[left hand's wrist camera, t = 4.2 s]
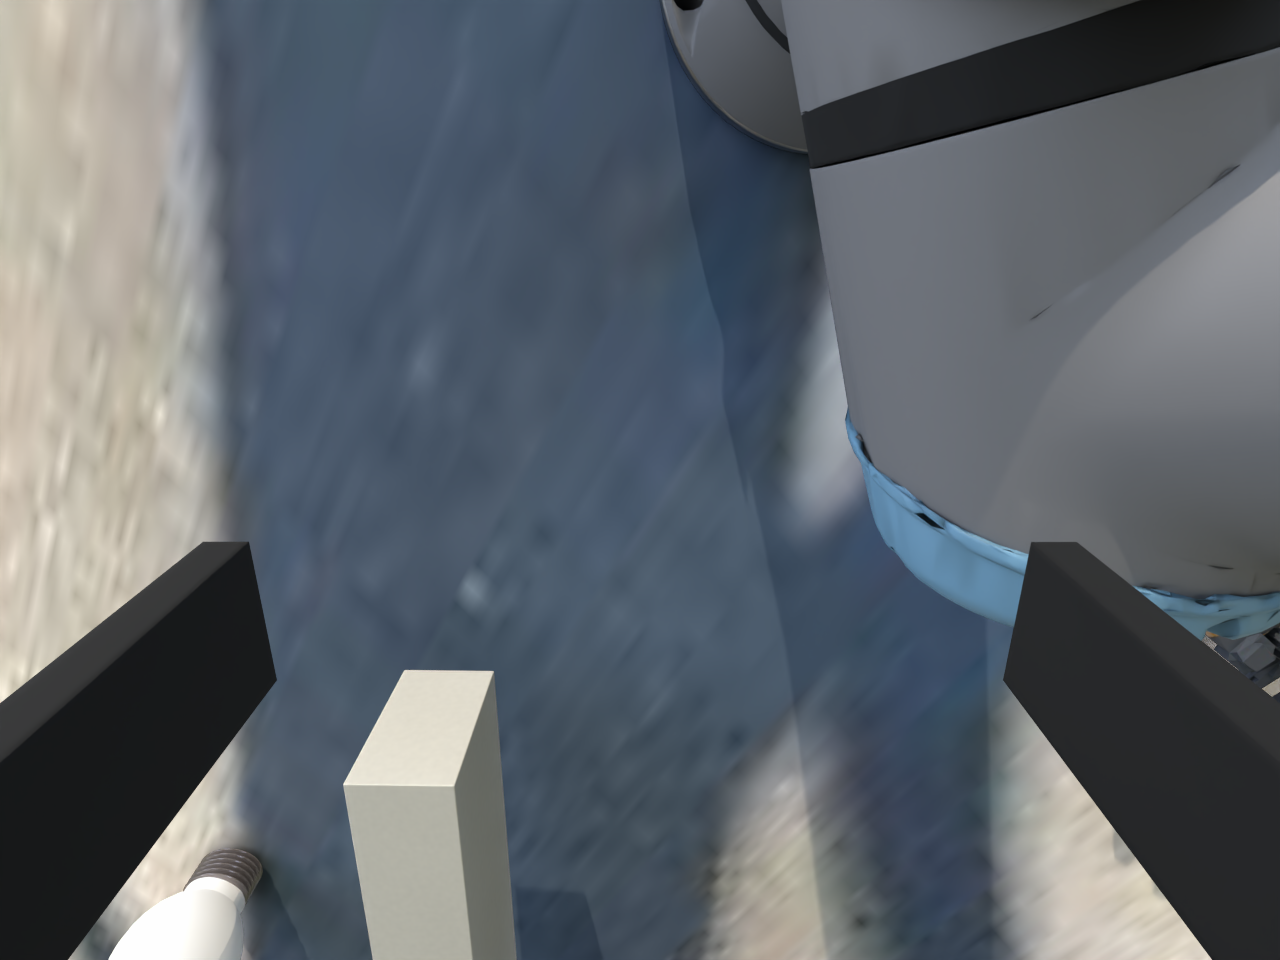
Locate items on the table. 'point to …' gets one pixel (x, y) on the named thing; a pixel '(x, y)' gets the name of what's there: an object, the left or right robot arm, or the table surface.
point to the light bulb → (197, 914)
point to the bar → (434, 822)
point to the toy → (1253, 655)
